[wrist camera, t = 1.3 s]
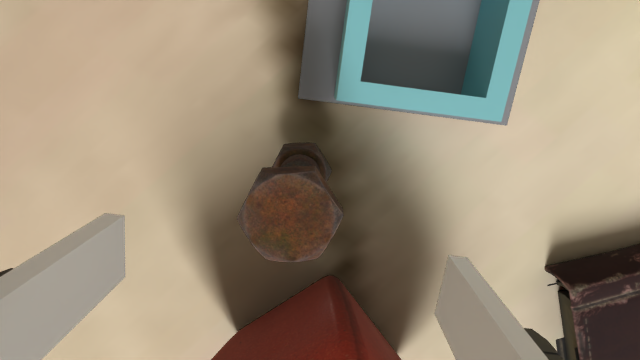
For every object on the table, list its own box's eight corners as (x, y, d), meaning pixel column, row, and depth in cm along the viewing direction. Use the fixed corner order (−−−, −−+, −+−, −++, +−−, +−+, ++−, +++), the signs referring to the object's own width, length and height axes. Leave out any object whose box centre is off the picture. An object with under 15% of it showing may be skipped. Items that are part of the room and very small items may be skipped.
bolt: (312, 198, 35) (306, 282, 21) (265, 173, 34) (223, 243, 20) (342, 144, 34) (357, 194, 19) (293, 118, 33) (270, 149, 19)
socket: (299, 97, 33) (293, 101, 26) (317, -70, 29) (316, -111, 23) (498, 123, 33) (539, 134, 27) (539, -39, 30) (598, -70, 23)
